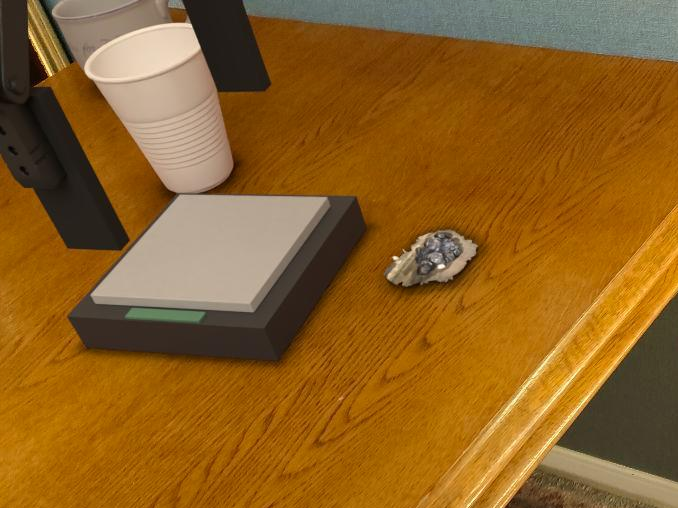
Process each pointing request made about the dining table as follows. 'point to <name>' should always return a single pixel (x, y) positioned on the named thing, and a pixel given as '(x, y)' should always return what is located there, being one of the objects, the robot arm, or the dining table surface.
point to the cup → (166, 103)
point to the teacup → (105, 21)
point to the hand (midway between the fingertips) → (178, 160)
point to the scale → (221, 275)
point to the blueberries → (432, 259)
